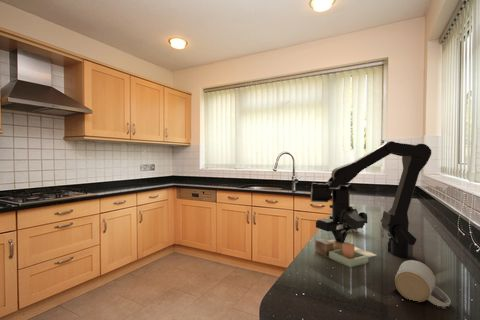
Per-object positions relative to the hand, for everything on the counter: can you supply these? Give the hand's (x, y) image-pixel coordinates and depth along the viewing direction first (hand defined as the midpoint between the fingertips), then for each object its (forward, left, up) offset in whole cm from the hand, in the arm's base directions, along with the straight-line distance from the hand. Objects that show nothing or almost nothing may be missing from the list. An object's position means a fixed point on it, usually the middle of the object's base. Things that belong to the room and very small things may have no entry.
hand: (340, 246), depth 87 cm
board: (-3, +1, -3) cm, 4 cm away
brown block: (0, +8, -1) cm, 8 cm away
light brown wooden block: (0, +4, -1) cm, 4 cm away
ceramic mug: (-28, +5, -3) cm, 29 cm away
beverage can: (+15, -23, -3) cm, 28 cm away
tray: (-8, +5, -1) cm, 9 cm away
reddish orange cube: (-8, +6, -1) cm, 9 cm away
